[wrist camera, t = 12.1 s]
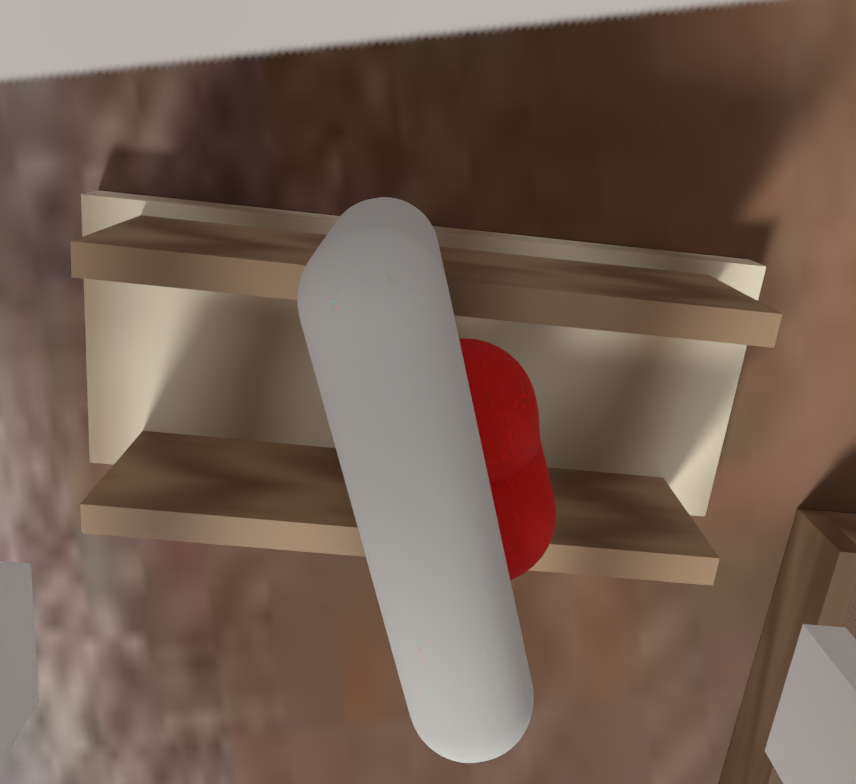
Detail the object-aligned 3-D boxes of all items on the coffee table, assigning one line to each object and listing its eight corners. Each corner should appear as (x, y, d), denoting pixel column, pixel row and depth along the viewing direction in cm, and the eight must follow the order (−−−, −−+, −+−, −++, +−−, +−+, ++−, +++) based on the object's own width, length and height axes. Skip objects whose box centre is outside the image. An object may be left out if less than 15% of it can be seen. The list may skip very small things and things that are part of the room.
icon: (544, 536, 27) (617, 765, 17) (418, 561, 27) (422, 802, 17) (473, 166, 23) (518, 202, 13) (326, 199, 23) (268, 258, 14)
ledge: (104, 446, 32) (16, 541, 25) (97, 190, 29) (-7, 214, 21) (692, 499, 33) (769, 603, 26) (749, 259, 30) (855, 303, 23)
